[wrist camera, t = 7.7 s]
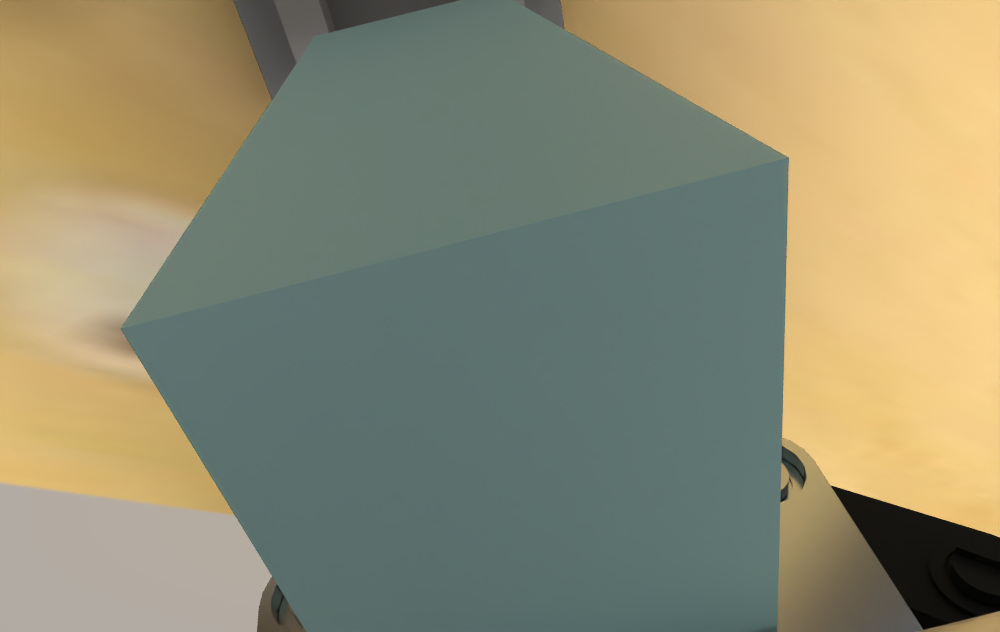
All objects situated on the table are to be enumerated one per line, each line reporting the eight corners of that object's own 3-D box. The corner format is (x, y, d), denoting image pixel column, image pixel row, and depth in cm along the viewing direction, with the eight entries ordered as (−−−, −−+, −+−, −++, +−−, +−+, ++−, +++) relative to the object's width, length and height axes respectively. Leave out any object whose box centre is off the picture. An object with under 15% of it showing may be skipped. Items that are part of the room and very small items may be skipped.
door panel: (308, 38, 11) (97, 334, 3) (503, -11, 11) (809, 152, 3) (476, 534, 17) (551, 1046, 9) (598, 502, 17) (775, 983, 9)
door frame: (161, -208, 18) (-112, -359, 8) (511, -292, 19) (667, -540, 8) (391, 395, 30) (396, 639, 20) (603, 339, 30) (715, 553, 20)
